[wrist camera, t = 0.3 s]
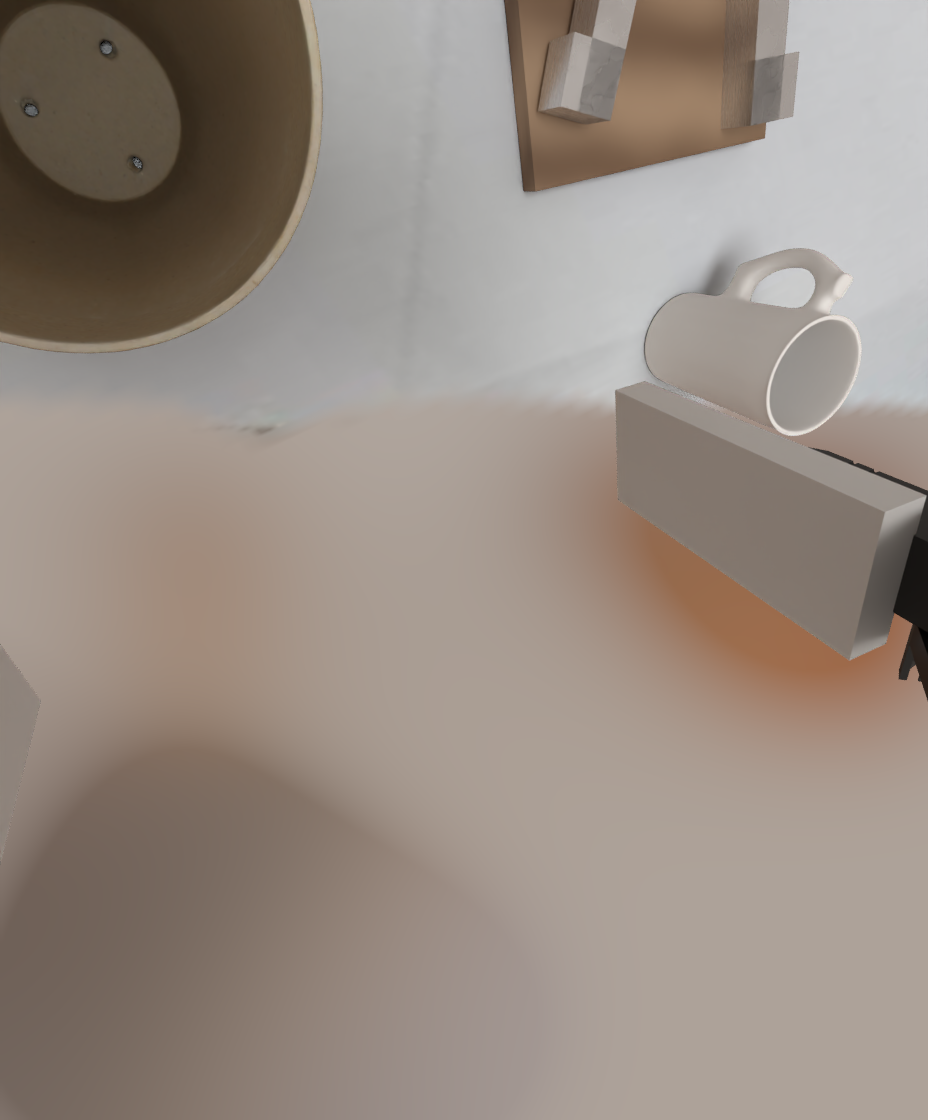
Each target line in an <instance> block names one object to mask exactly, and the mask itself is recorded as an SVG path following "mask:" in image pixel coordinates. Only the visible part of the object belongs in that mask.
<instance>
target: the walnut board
mask: <svg viewBox="0 0 928 1120" xmlns="http://www.w3.org/2000/svg"><path fill="white" fill-rule="evenodd" d="M574 4H575V0H505V10H506V20H507V30H508V40H509V50H510V59H511V69H512V79H513V89H514V99H515V109H516V119H517V129H518V139H519V148H520V158H521V168H522V178H523V188H524V191H539V190H544V189H548V188H552V187H557V186H561V185H565V184H570V183H574V182H578V181H583V180H587V179H591V178H595V177H600V176H604V175H608V174H613V173H617V172H621V171H626V170H630V169H634V168H639V167H643V166H647V165H651V164H656V163H660V162H664V161H669V160H673V159H677V158H682V157H686V156H690V155H695V154H699V153H703V152H708V151H712V150H716V149H720V148H725V147H729V146H733V145H738V144H742V143H746V142H751V141H755V140H759V139H764V138H765V130H766V123H761V124H757V125H752V126H745V127H736V128H727V129H721V107H722V85H723V62H724V40H725V18H726V0H636V5H635V9H634V14H633V19H632V23H631V28H630V33H629V37H628V42H627V46H626V51H625V56H624V60H623V65H622V69H621V74H620V79H619V83H618V88H617V92H616V97H615V102H614V106H613V111H612V116H611V120H610V121H605V122H598V123H592V124H586V125H585V124H581V123H578V122H574V121H571V120H567V119H564V118H560V117H556V116H553V115H549V114H546V113H542V112H539V111H538V107H539V102H540V96H541V90H542V84H543V79H544V73H545V67H546V61H547V56H548V50H549V44H550V41H552V40H555V39H557V38H560V37H562V36H565V35H568V34H569V32H570V26H571V21H572V15H573V10H574Z"/></svg>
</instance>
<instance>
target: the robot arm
mask: <svg viewBox="0 0 928 1120" xmlns="http://www.w3.org/2000/svg"><path fill="white" fill-rule="evenodd" d="M615 399H616V441H617V442H616V444H617V488H618V500H619V501H620V502H622V503H623V504H625V505H626V506H628V507H629V508H630V509H632V510H633V511H635V512H636V513H638V514H639V515H641V516H642V517H643V518H645V519H646V520H648V521H649V522H651V523H652V524H654V525H655V526H657V527H658V528H659V529H661V530H662V531H664V532H665V533H666V534H668V535H669V536H671V537H672V538H674V539H675V540H677V541H678V542H679V543H681V544H682V545H684V546H685V547H687V548H688V549H690V550H691V551H692V552H694V553H695V554H697V555H698V556H700V557H701V558H703V559H704V560H706V561H707V562H708V563H710V564H711V565H713V566H714V567H715V568H717V569H718V570H720V571H722V572H723V573H724V574H726V575H727V576H728V577H730V578H731V579H733V580H734V581H736V582H737V583H739V584H740V585H742V586H743V587H744V588H746V589H747V590H749V591H750V592H752V593H753V594H754V595H756V596H757V597H759V598H760V599H762V600H763V601H765V602H766V603H767V604H769V605H770V606H772V607H773V608H775V609H776V610H778V611H779V612H781V613H782V614H783V615H785V616H786V617H788V618H789V619H791V620H792V621H793V622H795V623H796V624H798V625H799V626H801V627H802V628H804V629H805V630H806V631H808V632H809V633H811V634H813V635H814V636H815V637H816V638H818V639H819V640H821V641H822V642H824V643H825V644H827V645H828V646H829V647H831V648H832V649H834V650H836V651H837V652H838V653H839V654H841V655H842V656H844V657H845V658H847V659H848V660H851V659H854V658H856V657H858V656H860V655H862V654H864V653H867V652H869V651H871V650H873V649H875V648H877V647H880V646H882V645H884V644H886V641H887V637H888V634H889V630H890V627H891V623H892V619H893V616H894V613H896V614H897V615H899V616H901V617H902V618H904V619H906V620H907V621H909V622H911V623H912V624H913V625H912V628H911V631H910V635H909V638H908V642H907V645H906V648H905V652H904V655H903V658H902V662H901V665H900V668H899V679H901V680H907V677H908V674H909V671H910V669H911V668H912V667H913V666H915V665H916V666H917V669H918V672H919V678H918V681H921V682H922V684H923V688H924V691H925V694H926V697H927V700H928V491H927V490H924V489H922V488H920V487H917V486H914V485H912V484H909V483H907V482H904V481H902V480H899V479H897V478H894V477H892V476H889V475H887V474H884V473H882V472H876V473H875V472H874V469H872V468H869V467H867V466H864V465H862V464H859V463H857V464H854V463H853V461H851V460H849V459H847V458H844V457H842V456H839V455H837V454H834V453H832V452H829V451H825V450H820V449H815V448H810V447H805V446H803V445H801V444H798V443H796V442H793V441H791V440H789V439H786V438H784V437H781V436H779V435H776V434H774V433H771V432H769V431H766V430H764V429H761V428H759V427H756V426H754V425H751V424H749V423H747V422H744V421H742V420H739V419H737V418H734V417H732V416H729V415H727V414H724V413H722V412H719V411H717V410H715V409H712V408H710V407H707V406H705V405H702V404H700V403H697V402H695V401H692V400H690V399H687V398H685V397H682V396H680V395H678V394H675V393H673V392H670V391H668V390H665V389H663V388H660V387H658V386H655V385H653V384H650V383H648V382H645V381H644V382H641V383H637V384H634V385H631V386H628V387H624V388H621V389H618V390H615ZM40 702H41V700H40V699H39V697H38V696H37V694H36V693H35V691H34V690H33V689H32V687H31V686H30V685H29V683H28V682H27V680H26V679H25V678H24V676H23V675H22V674H21V672H20V671H19V669H18V668H17V667H16V665H15V664H14V662H13V661H12V660H11V658H10V657H9V655H8V654H7V653H6V651H5V650H4V648H3V647H2V646H1V644H0V863H1V859H2V855H3V851H4V847H5V843H6V839H7V835H8V831H9V827H10V823H11V819H12V815H13V811H14V807H15V803H16V799H17V795H18V791H19V787H20V783H21V779H22V775H23V771H24V767H25V763H26V759H27V755H28V751H29V747H30V743H31V739H32V735H33V731H34V727H35V723H36V719H37V715H38V711H39V707H40Z"/></svg>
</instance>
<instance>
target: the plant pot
mask: <svg viewBox="0 0 928 1120" xmlns="http://www.w3.org/2000/svg"><path fill="white" fill-rule="evenodd" d="M104 40H105V41H109V42H110V43H111V45H112V52H111V53H109V54H103V53H102V52H101V50H100V45H101V43H102V42H103V41H104ZM27 104H32V105H34V106H35V107H36V108H37V110H38V114H37V115H35V116H30V115H28V114H26V113H25V111H24V107H25V105H27ZM322 115H323V88H322V73H321V62H320V54H319V45H318V36H317V30H316V25H315V20H314V15H313V10H312V6H311V2H310V0H0V341H1V342H5V343H10V344H14V345H18V346H23V347H28V348H32V349H39V350H46V351H54V352H67V353H106V352H118V351H127V350H133V349H138V348H142V347H147V346H152V345H155V344H159V343H162V342H166V341H169V340H171V339H174V338H177V337H179V336H182V335H184V334H187V333H189V332H191V331H194V330H196V329H199V328H200V327H202V326H204V325H206V324H207V323H209V322H211V321H213V320H214V319H216V318H218V317H220V316H221V315H222V314H224V313H225V312H227V311H228V310H230V309H231V308H233V307H234V306H235V305H236V304H238V303H239V302H240V301H241V300H243V299H244V298H245V297H246V296H247V295H248V294H249V293H250V292H251V291H252V290H253V289H254V288H256V287H257V286H258V284H259V283H260V282H261V281H262V280H263V278H264V277H265V276H266V275H267V274H268V273H269V271H270V270H271V269H272V268H273V266H274V265H275V263H276V262H277V260H278V259H279V257H280V256H281V255H282V253H283V252H284V250H285V249H286V247H287V245H288V243H289V242H290V240H291V238H292V236H293V234H294V232H295V230H296V228H297V226H298V224H299V222H300V219H301V217H302V214H303V212H304V209H305V206H306V204H307V201H308V199H309V196H310V192H311V189H312V185H313V182H314V177H315V173H316V168H317V161H318V155H319V149H320V142H321V129H322ZM133 157H137V158H138V159H140V160H141V162H142V168H141V169H139V168H137V167H136V166H135V165H134V163H133Z"/></svg>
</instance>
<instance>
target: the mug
mask: <svg viewBox="0 0 928 1120" xmlns="http://www.w3.org/2000/svg"><path fill="white" fill-rule="evenodd" d="M787 268H804V269H807V270H808V271H810V272H811V273H812V275H813V276H814V279H815V290H814V293H813V295H812V297H811V298H810V300H809V301H808V302H807V303H806V304H805V305H804V306H803V307H800V308H786V307H780V306H773V305H767V304H761V303H754V302H751V296H752V294H753V292H754V289H755V288H756V286H757V285H758V283H759V282H760V281H761V280H763V279H764V278H765V277H767V276H768V275H770V274H772V273H774V272H776V271H779V270H782V269H787ZM852 281H853V277H852V276H851V275H849V274H847V273H844V272H843V271H842V270H841V269H840V268H839V267H838V266H837V265H836V264H835V263H834V262H833V261H831V260H830V259H829V258H828V257H826V256H825V255H823V254H822V253H820V252H817V251H815V250H811V249H804V248H796V249H788V250H783V251H779V252H776V253H773V254H770V255H767V256H764V257H761V258H758V259H755V260H752V261H749V262H746V263H743V264H741V265H740V266H739V267H738V268H737V270H736V273H735V275H734V277H733V280H732V282H731V283H730V285H729V287H728V288H727V289H726V291H725V292H724V293H722V294H721V295H717V296H711V295H705V294H699V293H685V294H681V295H679V296H676V297H675V298H673V299H671V300H670V301H668V302H667V303H666V304H665V305H664V306H663V307H662V308H661V309H660V310H659V312H658V313H657V314H656V316H655V317H654V319H653V321H652V323H651V325H650V327H649V330H648V333H647V336H646V342H645V357H646V362H647V365H648V367H649V369H650V371H651V372H652V374H653V375H654V376H655V377H657V378H658V379H659V380H661V381H663V382H665V383H668V384H670V385H672V386H675V387H677V388H679V389H681V390H683V391H686V392H688V393H691V394H693V395H695V396H698V397H700V398H702V399H705V400H707V401H709V402H712V403H714V404H716V405H719V406H721V407H723V408H726V409H728V410H730V411H733V412H735V413H737V414H739V415H742V416H744V417H746V418H749V419H751V420H753V421H756V422H758V423H761V424H763V425H765V426H768V427H771V428H774V429H776V430H778V431H779V432H780V433H782V434H785V435H789V436H796V435H802V434H805V433H808V432H810V431H812V430H814V429H816V428H817V427H819V426H820V425H822V424H823V423H825V422H826V421H827V420H828V419H829V418H830V417H831V416H832V415H833V414H834V413H835V412H836V411H837V410H838V409H839V407H840V406H841V405H842V403H843V402H844V400H845V399H846V397H847V396H848V394H849V392H850V390H851V388H852V386H853V384H854V382H855V379H856V376H857V373H858V370H859V366H860V361H861V340H860V335H859V332H858V330H857V328H856V326H855V325H854V324H853V322H852V321H851V320H849V319H848V318H846V317H844V316H840V315H830V310H831V307H832V305H833V304H834V302H835V301H837V300H839V299H841V298H842V297H843V296H844V294H845V292H846V291H847V289H848V287H849V286H850V284H851V283H852Z"/></svg>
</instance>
